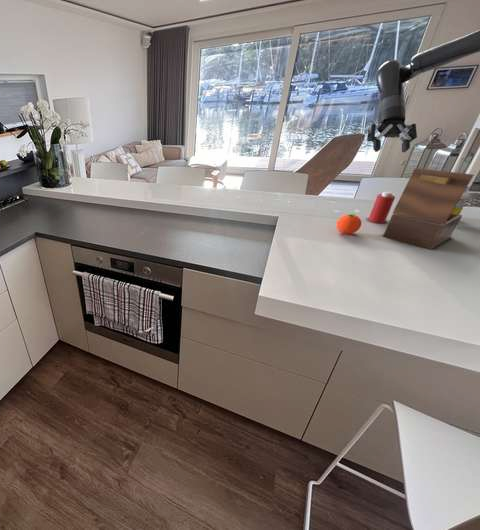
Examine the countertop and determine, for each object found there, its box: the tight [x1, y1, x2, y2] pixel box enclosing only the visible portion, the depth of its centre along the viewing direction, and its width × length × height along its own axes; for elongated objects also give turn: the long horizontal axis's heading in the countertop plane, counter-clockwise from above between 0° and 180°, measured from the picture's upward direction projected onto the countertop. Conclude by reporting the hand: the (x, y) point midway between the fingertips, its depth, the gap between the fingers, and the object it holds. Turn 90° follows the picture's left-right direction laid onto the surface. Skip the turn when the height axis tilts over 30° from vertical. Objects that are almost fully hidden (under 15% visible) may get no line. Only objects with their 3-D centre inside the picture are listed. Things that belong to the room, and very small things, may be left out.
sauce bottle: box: [367, 190, 396, 224], centre depth 107 cm, size 5×5×11 cm
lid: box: [392, 167, 475, 225], centre depth 86 cm, size 14×13×5 cm
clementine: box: [336, 213, 362, 235], centre depth 102 cm, size 8×7×7 cm
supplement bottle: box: [452, 183, 471, 215], centre depth 103 cm, size 7×7×13 cm
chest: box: [383, 213, 463, 250], centre depth 95 cm, size 14×13×8 cm
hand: (391, 150), depth 105 cm, fingers open, 8 cm apart
